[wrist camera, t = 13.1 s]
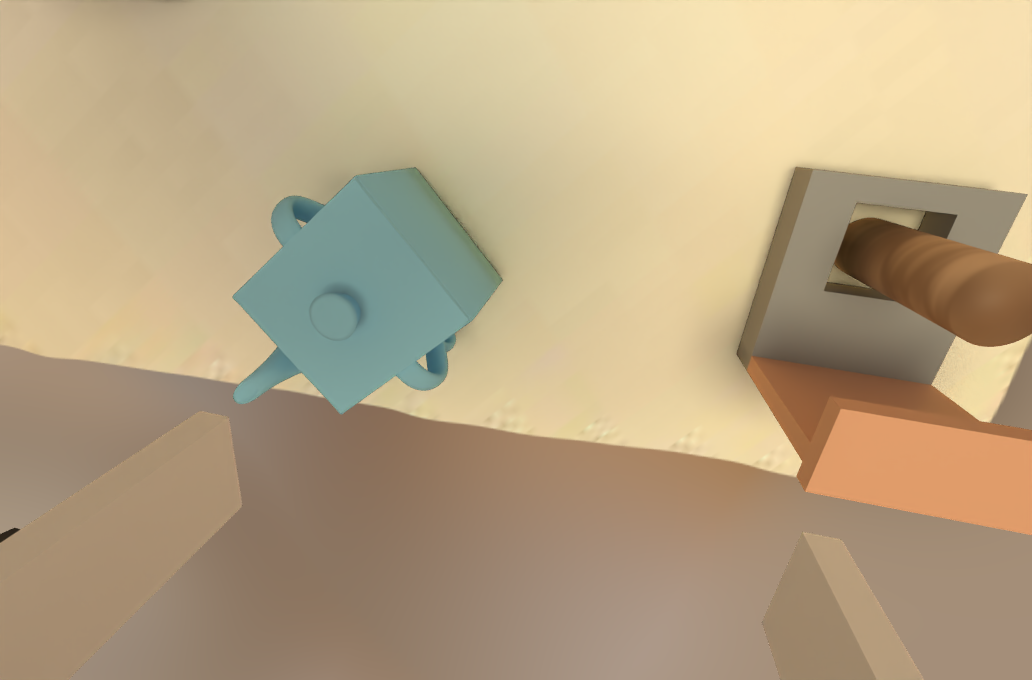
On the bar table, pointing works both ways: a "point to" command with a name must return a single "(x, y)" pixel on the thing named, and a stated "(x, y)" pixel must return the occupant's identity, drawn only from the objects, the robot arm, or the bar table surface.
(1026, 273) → the walnut peg
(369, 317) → the teal cube teapot
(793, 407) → the socket stand
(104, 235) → the bar table surface
